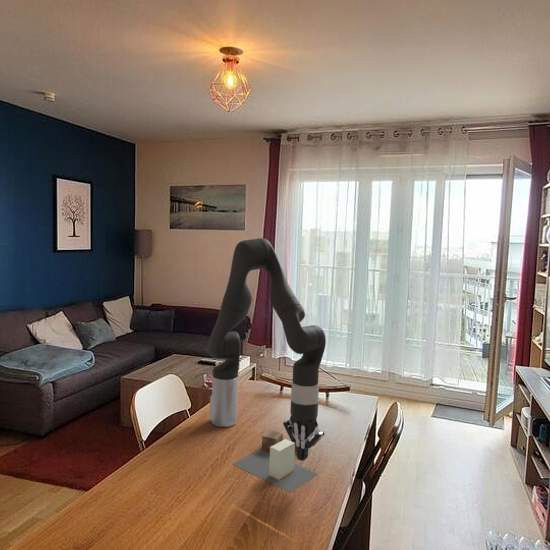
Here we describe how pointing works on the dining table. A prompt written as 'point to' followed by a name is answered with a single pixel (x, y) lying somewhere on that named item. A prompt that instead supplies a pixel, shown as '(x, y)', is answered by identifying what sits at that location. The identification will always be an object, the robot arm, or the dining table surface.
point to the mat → (260, 468)
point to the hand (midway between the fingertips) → (302, 459)
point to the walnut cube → (271, 439)
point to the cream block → (281, 459)
